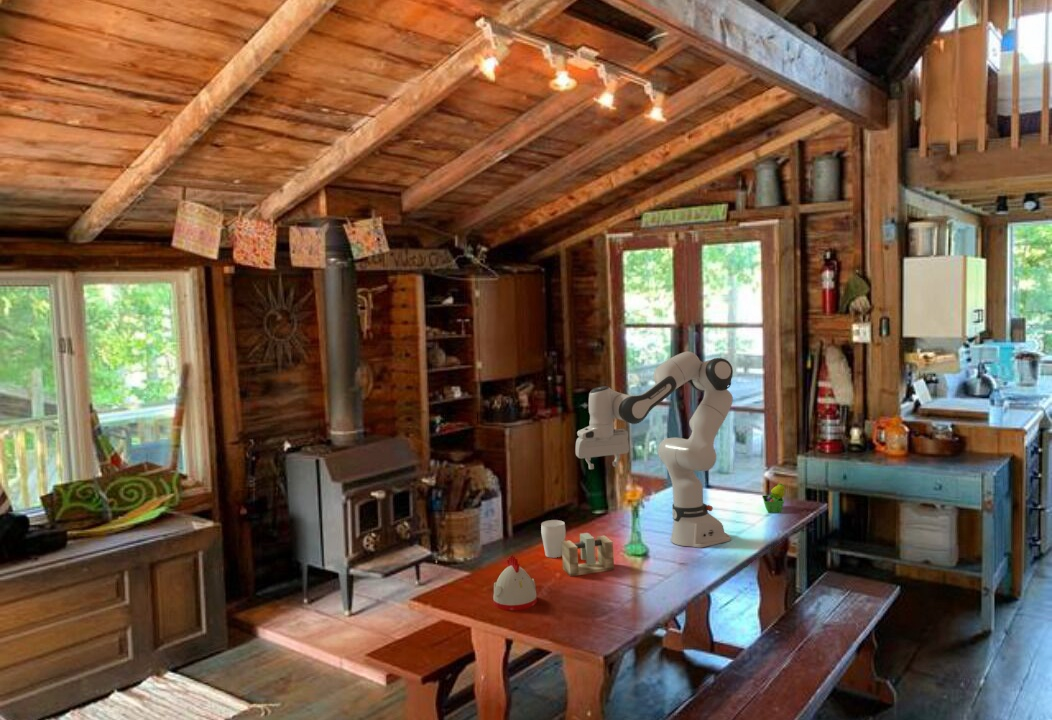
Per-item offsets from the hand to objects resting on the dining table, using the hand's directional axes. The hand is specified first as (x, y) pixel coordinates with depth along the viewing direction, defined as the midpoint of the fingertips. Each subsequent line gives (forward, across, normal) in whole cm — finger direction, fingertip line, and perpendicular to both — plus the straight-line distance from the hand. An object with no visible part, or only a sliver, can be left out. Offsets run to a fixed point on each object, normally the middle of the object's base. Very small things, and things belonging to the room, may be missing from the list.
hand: (603, 467), depth 317 cm
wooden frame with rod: (+31, +14, +18) cm, 39 cm away
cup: (+31, +20, -2) cm, 37 cm away
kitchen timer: (+32, +46, +37) cm, 66 cm away
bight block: (+28, +14, +18) cm, 36 cm away
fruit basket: (+31, -83, -19) cm, 91 cm away
